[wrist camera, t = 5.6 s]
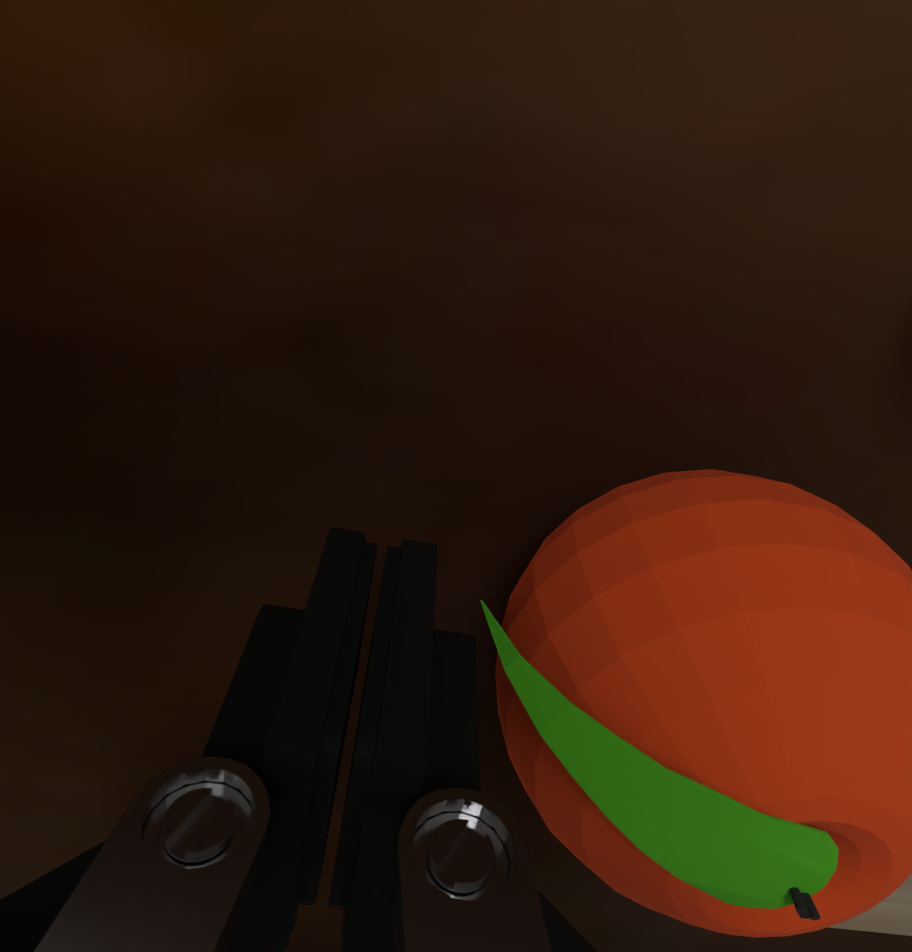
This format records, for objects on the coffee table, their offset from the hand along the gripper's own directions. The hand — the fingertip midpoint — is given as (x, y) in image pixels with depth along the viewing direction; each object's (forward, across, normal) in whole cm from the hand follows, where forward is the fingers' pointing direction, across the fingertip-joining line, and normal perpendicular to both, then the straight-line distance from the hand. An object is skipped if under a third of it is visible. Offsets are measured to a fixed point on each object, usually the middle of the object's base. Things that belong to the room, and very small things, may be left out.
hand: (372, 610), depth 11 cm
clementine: (+3, -5, 0) cm, 6 cm away
